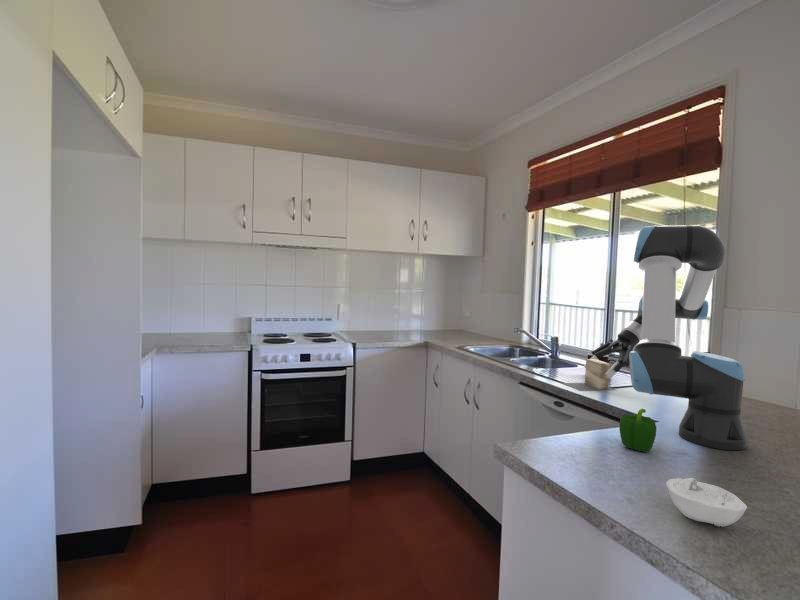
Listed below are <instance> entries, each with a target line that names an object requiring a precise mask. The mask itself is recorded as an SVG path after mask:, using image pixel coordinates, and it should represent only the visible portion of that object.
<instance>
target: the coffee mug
mask: <svg viewBox="0 0 800 600" xmlns="http://www.w3.org/2000/svg"><path fill="white" fill-rule="evenodd" d="M586 355H587V359H590V358H591V357H592V356H593V354H592V353H591V352H590V353H587V354H586ZM598 356H599V355H598ZM599 360H600V361H603V362H606V363H609V364H610V362H614V364H615V363H616V362H617V360H615V359H609V354H608V355H605V356H603V357H601V358H599Z"/></svg>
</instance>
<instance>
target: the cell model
mask: <svg viewBox="0 0 800 600" xmlns="http://www.w3.org/2000/svg"><path fill="white" fill-rule="evenodd" d="M665 485H666V487H667V489H668V493H669V497H670V499H671V501H672V503H673V504H674V506H675V507H676V508H677V509H678V511H680V513H681V514H682V515H684V517H686V518H687V517H688V519H690V520H693V521H696V522H701V523H707V524H711V525H713V524H714V526H716V527H720V526H721V528H722V527H727V526H730V525H732V524H734V523H736V522H738V520H740V519H741V518H742V516H743V515H744V513H745V512H746V511H747V509H748V506H747V504H746V503H744V502H743V501H742V500H741V499H740V497H738V496H737V495H735V494H734V493H732V492H730V491H728V490H726V489H725V488H723V487H720V486H717V485H714V484H710V483H706V482H701V481H697V479H696V478H693V477H689V478H688V477H687V478H678V477H677V478H670V479H668V480H667V481H666V483H665Z"/></svg>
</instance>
